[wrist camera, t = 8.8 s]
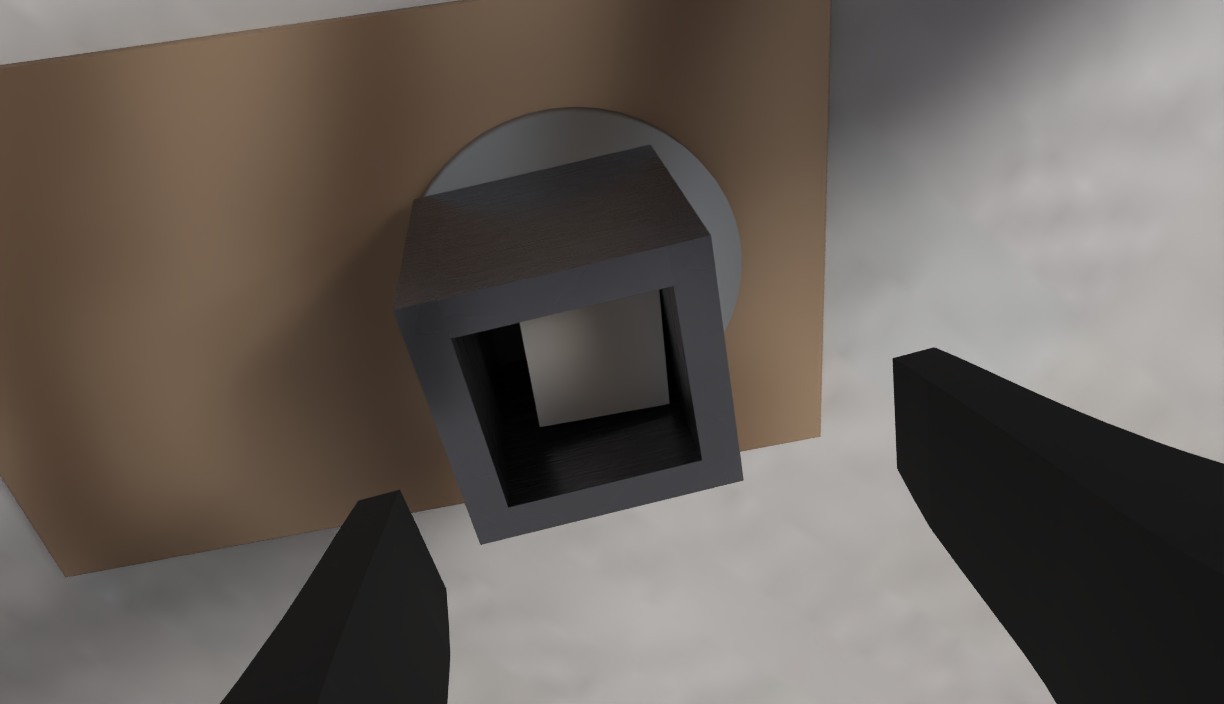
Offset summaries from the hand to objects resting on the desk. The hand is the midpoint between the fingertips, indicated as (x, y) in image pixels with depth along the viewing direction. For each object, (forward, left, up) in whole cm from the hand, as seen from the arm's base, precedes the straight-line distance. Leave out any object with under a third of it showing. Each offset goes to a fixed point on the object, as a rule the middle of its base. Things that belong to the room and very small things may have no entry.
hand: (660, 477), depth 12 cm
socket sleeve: (+1, 0, -7) cm, 7 cm away
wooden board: (+4, 0, -9) cm, 10 cm away
